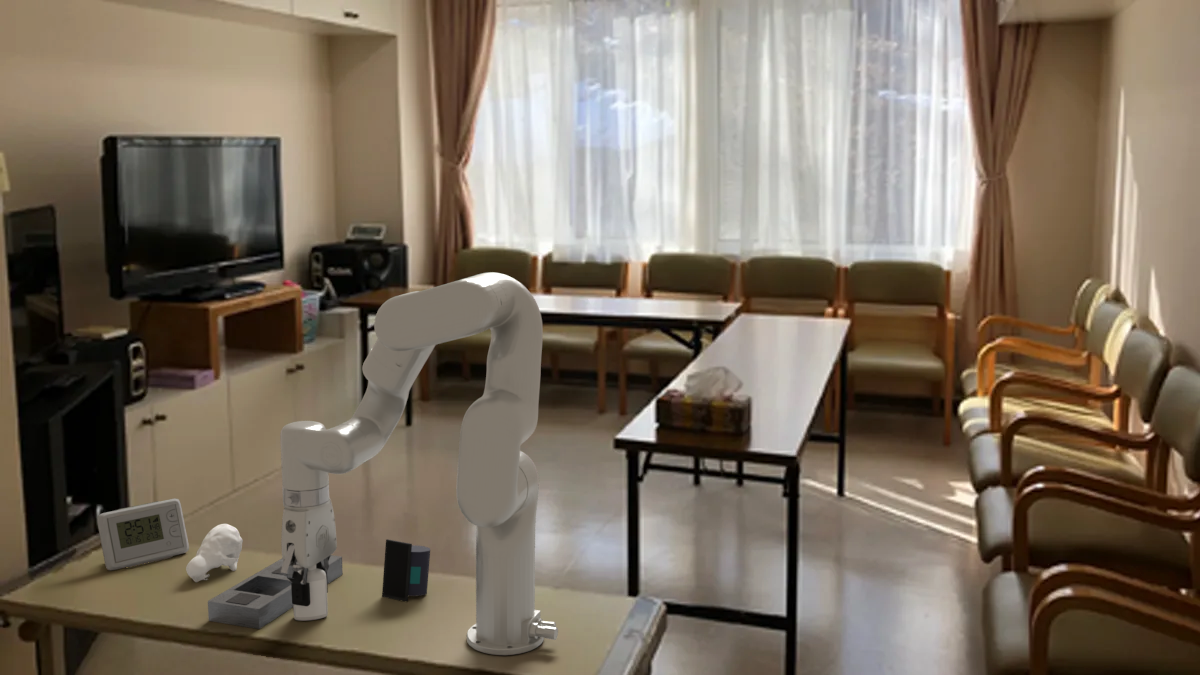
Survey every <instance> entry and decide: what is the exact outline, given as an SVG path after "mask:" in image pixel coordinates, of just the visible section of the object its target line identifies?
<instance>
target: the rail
mask: <svg viewBox="0 0 1200 675" xmlns="http://www.w3.org/2000/svg"><path fill="white" fill-rule="evenodd" d="M296 563H297V564H298V562H296ZM328 564H329V568H328V570H327V582H328V584H330V583H331V582H333V581H335V580H337V579H338V578H339V577H341V576H342V575H343V556H341V555H333V554H331V556H330V558H329V561H328ZM282 566H283V559H282V558H280V559H279V560H277V561H275V562H273V563H272V564H270V565H268V566H266V567H265V568H263V569H261V570H260V571H257V572H256V573H254V574H253V575H250V576H249V577H247V578H245V579H244V580H242V581H240V582H239V583H236V584H235V585H233V586H231V587H230V588H228V589H226V590H224V591H223V592H221V593H219V594H217V595H216V596H214V597H212V598H211V599H209V600H207V611H208V613H207V616H208V621H209V622H214V623H220V624H227V625H232V626H238V627H239V626H240V627H245V628H251V629H257V630H260V629H262V628H263V627H265V626H266V625H268V624H270V623H271V622H273V620H275V619H278V618H279V617H280V616H281V615H283V614H285V613H286V612H288V611H289V610H290V609H292V608H293V603H292V590H291V583H290V582H289V579H288V578H287V577H286V576H284V575H283V574H281V569H282ZM300 570H302V569H299V568H297V570H296V571H297V572H298V571H300Z"/></svg>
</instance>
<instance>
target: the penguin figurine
mask: <svg viewBox="0 0 1200 675" xmlns="http://www.w3.org/2000/svg"><path fill="white" fill-rule="evenodd" d="M240 535H241V534H240V532H239V530H238V529H237V528H236V527H235V526H233V525H230V524H228V523H221V524H217V525H216V526H214V527H213V528H211V529H210V531H209V532H207V534H206V535H205V537H204V538H203V540H202V542H201V544H200V547H199V548H198V549H197V551H196V554H195V556H194V557H193V558H192V559H191V560H189V562H188V563H187V564H186V568H185V571H186V573H187V576H188V577H190V578H191V579H192V580H193V582H195V583H198V582H200V581H209V579H208V578H209V577H210V573H208V572H209V571H211V570H213V569H215V568H219V567H221V566H224V567H228V568H229V569H230V570H231V571H232V572H235V571H236V570H237V568H238V562H239V558H240V554H241V552H242V549H243V541H244V540H243V538H242V537H241V536H240ZM207 573H208V574H207Z"/></svg>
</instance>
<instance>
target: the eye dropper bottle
mask: <svg viewBox="0 0 1200 675" xmlns="http://www.w3.org/2000/svg"><path fill="white" fill-rule="evenodd" d="M298 572H299V573H300V574H301V570H300V571H298ZM307 583H309V584H310V605H309V606H300V605H294V604H293V607H292V608H293V609H292V610H293V617H294V620H295V621H303V622H304V621H306V622H307V621H314V620H320V619H323V618H326V617H327V616H328V615H329V614H328V613H329V610H328V609H329V608H328V606H329V605H328V593H327V580H326V573H325V571H323V570H321V569H317V568H316V564H315V565H314V566H312V567H310V568H308V576H307Z"/></svg>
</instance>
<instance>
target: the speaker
mask: <svg viewBox="0 0 1200 675" xmlns="http://www.w3.org/2000/svg"><path fill="white" fill-rule="evenodd" d="M384 550H385V551H384V563H383V578H382V592H381V597H382V598H385V599H387V598H388V599H391V600H397V601H400V600H402V601H401V602H405V601H409V597H418V596H425V595H427V594H428V585H429V571H430V560H431V559H430V558H431V548H430V547H427V546H425V545H414V544H413V543H410V542H409V543H408V542H404V541H398V540H393V539H385V548H384Z"/></svg>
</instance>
